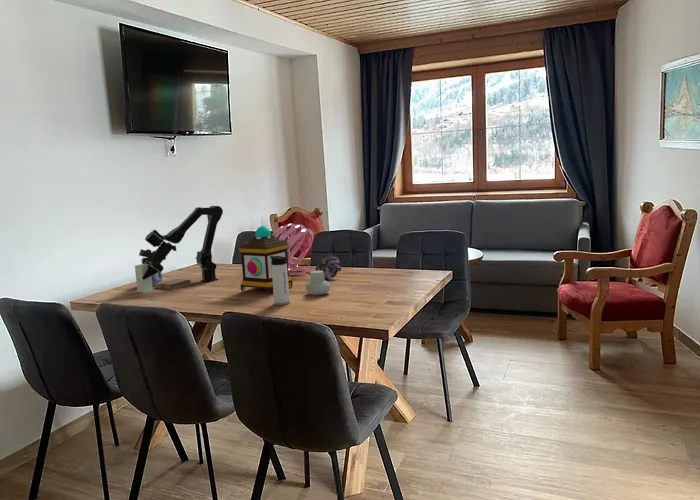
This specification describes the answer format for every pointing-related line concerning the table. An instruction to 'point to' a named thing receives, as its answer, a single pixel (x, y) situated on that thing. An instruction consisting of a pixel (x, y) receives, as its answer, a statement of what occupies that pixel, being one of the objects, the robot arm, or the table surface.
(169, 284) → the block
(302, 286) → the table surface
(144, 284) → the sage block
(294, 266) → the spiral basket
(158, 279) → the small box
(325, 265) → the decorative flower
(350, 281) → the table surface
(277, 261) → the travel mug
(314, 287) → the air freshener
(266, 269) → the decorative lantern
